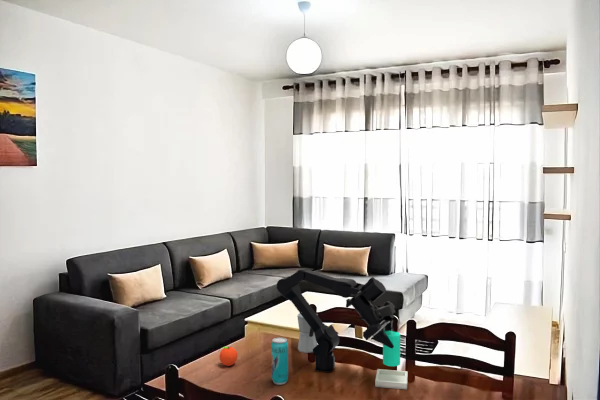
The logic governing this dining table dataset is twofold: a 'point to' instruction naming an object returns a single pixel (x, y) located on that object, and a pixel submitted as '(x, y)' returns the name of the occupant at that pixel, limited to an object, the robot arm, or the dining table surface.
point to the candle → (392, 350)
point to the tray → (391, 379)
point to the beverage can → (279, 360)
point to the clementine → (228, 356)
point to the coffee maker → (306, 336)
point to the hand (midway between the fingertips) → (395, 345)
